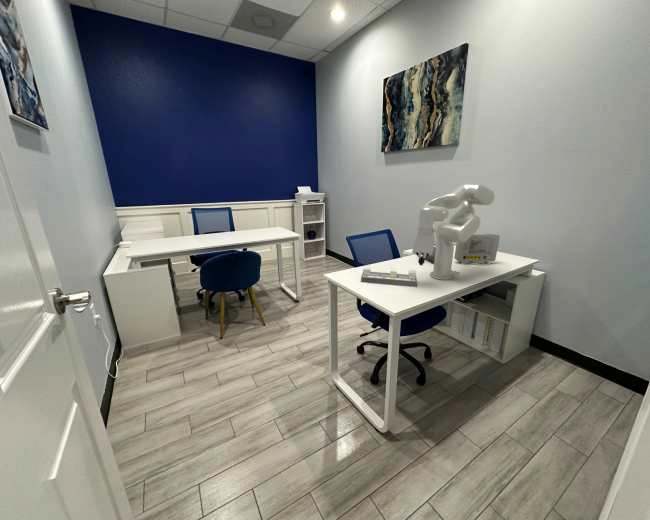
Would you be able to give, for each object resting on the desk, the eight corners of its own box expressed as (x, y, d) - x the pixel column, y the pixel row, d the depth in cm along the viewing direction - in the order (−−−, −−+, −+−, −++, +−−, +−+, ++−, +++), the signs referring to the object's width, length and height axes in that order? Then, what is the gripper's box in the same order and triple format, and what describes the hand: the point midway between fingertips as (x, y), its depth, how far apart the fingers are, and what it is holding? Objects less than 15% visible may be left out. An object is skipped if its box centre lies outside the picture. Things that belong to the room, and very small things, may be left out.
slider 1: (370, 272, 162) (370, 266, 161) (369, 275, 158) (369, 269, 157) (364, 271, 163) (364, 266, 162) (363, 274, 159) (363, 269, 158)
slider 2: (414, 276, 156) (415, 270, 155) (415, 279, 152) (415, 273, 151) (408, 275, 157) (408, 269, 156) (408, 278, 153) (409, 272, 152)
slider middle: (396, 274, 159) (397, 268, 158) (396, 277, 154) (396, 271, 153) (390, 274, 160) (390, 268, 159) (390, 277, 155) (390, 271, 154)
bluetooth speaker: (448, 265, 184) (450, 250, 181) (435, 266, 182) (437, 251, 179) (428, 255, 205) (430, 242, 202) (417, 256, 203) (418, 243, 200)
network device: (489, 261, 192) (495, 232, 186) (496, 265, 184) (502, 235, 178) (452, 261, 193) (456, 232, 187) (457, 265, 185) (462, 235, 179)
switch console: (415, 280, 159) (416, 274, 158) (416, 286, 150) (417, 281, 149) (363, 275, 166) (363, 270, 165) (361, 281, 157) (361, 276, 156)
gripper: (439, 230, 147) (434, 263, 153) (409, 229, 151) (406, 261, 156) (441, 233, 140) (436, 268, 146) (410, 231, 144) (406, 265, 149)
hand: (420, 264), depth 151 cm, fingers closed
